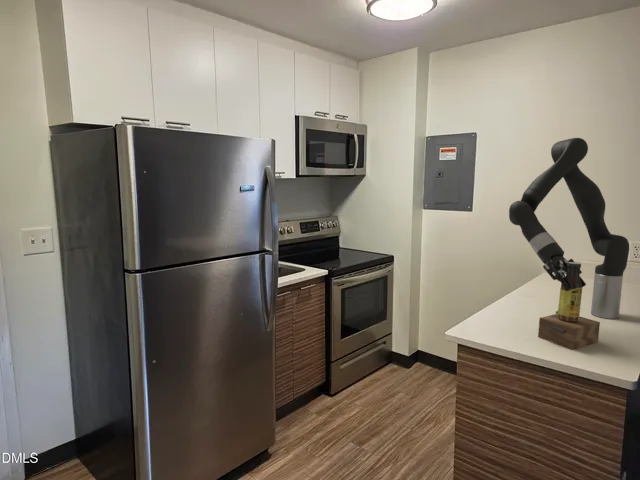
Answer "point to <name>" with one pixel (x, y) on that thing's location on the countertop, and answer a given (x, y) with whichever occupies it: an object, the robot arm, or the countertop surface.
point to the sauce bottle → (571, 295)
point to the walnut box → (569, 331)
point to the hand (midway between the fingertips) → (576, 287)
